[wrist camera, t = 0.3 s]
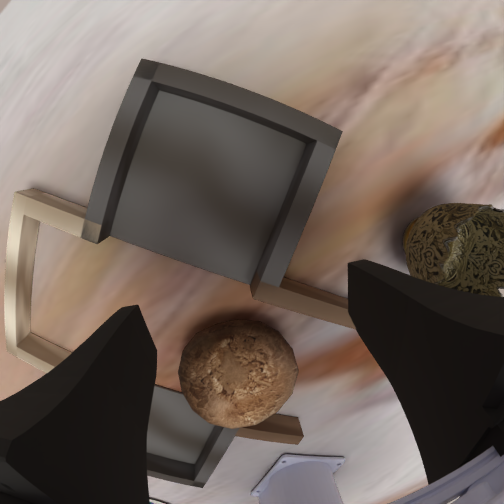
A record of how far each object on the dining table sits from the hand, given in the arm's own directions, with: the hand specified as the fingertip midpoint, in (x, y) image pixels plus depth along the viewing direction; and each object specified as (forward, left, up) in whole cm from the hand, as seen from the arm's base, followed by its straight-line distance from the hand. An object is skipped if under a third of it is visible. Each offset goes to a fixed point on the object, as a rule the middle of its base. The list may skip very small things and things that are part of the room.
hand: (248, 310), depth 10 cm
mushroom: (-8, -3, -11) cm, 14 cm away
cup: (+5, -13, -11) cm, 17 cm away
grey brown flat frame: (-8, +2, -10) cm, 13 cm away
